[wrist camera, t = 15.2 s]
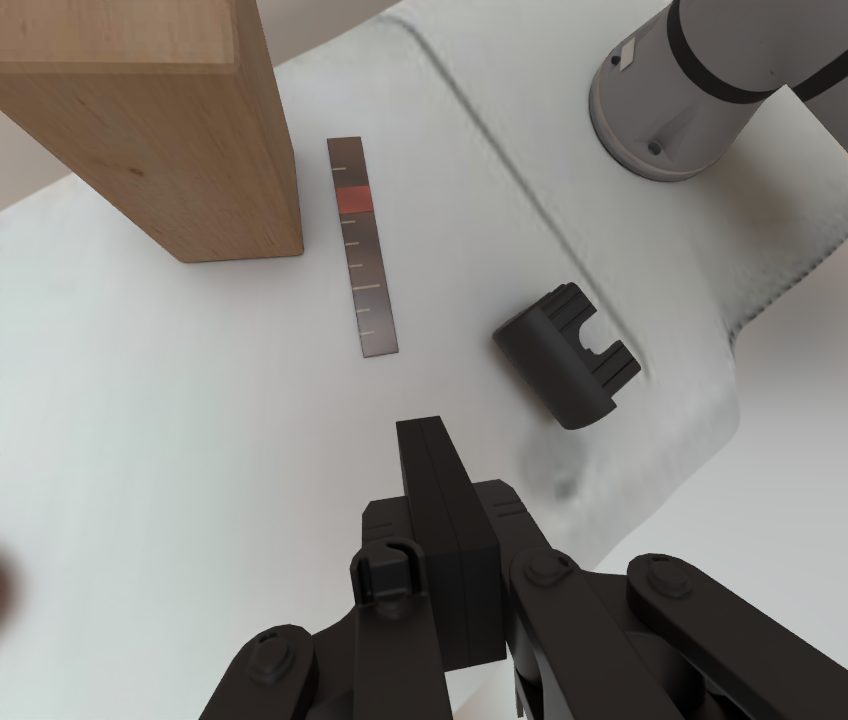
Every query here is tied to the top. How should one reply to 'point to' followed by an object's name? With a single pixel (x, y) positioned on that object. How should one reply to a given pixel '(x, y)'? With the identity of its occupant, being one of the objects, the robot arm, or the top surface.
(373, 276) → the ruler
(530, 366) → the end cap
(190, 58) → the wooden block
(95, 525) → the top surface
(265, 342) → the top surface
